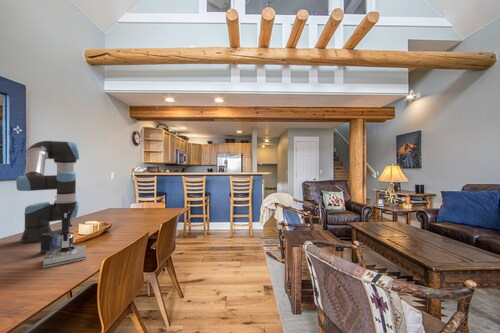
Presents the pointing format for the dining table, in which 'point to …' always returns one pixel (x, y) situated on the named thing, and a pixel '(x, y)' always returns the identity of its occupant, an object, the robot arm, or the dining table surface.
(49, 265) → the grey piece
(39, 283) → the dining table surface
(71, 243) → the lens
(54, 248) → the small box
